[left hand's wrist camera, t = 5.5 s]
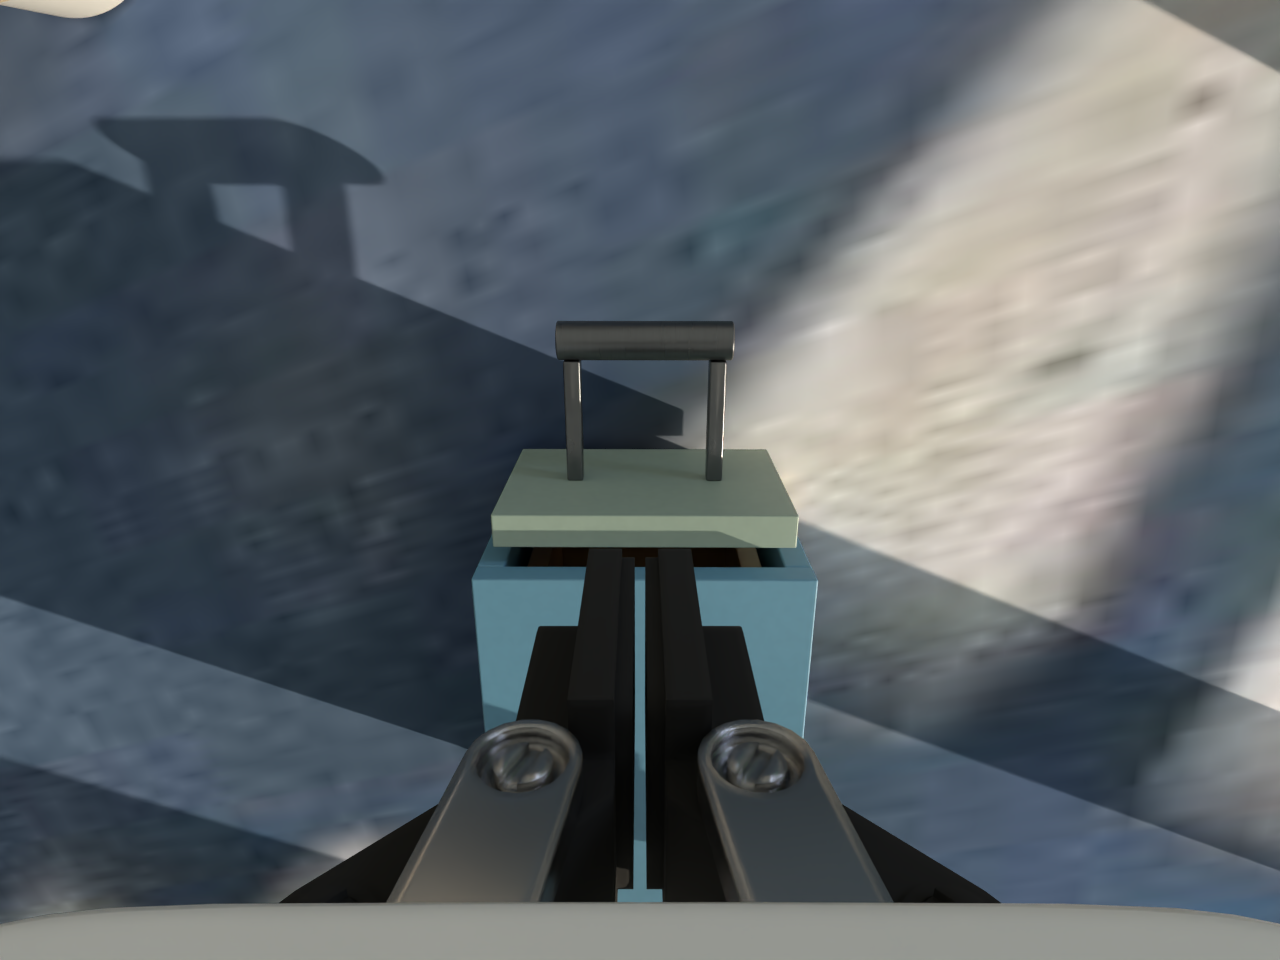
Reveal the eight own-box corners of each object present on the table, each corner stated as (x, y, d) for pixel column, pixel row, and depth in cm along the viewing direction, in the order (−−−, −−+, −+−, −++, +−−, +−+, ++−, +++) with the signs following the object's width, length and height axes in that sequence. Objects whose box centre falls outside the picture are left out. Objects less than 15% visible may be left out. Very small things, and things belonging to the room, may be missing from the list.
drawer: (514, 307, 30) (477, 338, 23) (775, 307, 29) (813, 339, 23) (539, 734, 37) (516, 852, 30) (748, 735, 37) (771, 853, 30)
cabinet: (514, 481, 33) (470, 579, 25) (774, 482, 33) (818, 580, 25) (532, 771, 39) (501, 930, 30) (754, 772, 39) (785, 932, 30)
